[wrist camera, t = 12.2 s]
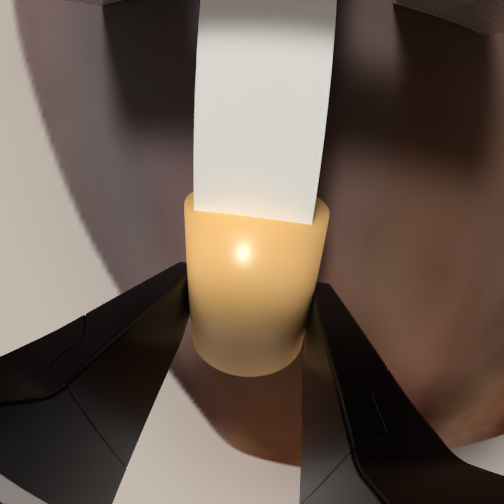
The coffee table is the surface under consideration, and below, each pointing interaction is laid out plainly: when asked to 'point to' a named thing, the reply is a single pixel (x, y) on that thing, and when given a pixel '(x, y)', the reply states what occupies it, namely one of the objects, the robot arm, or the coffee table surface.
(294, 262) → the white elongated bar
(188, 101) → the coffee table surface
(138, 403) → the robot arm
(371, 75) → the coffee table surface
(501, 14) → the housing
